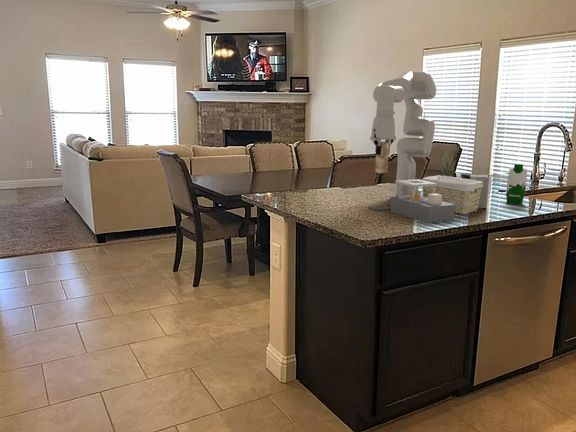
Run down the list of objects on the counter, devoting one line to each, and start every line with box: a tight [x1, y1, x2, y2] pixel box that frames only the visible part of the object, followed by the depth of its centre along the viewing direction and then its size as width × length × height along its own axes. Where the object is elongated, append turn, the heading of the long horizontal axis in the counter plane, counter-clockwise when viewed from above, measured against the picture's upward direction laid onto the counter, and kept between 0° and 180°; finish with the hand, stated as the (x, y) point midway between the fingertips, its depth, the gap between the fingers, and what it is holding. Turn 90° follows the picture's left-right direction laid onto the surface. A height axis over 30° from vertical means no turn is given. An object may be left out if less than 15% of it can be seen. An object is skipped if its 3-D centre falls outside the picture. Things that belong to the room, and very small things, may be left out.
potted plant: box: [439, 151, 457, 177], centre depth 298 cm, size 10×10×25 cm
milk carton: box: [505, 163, 528, 205], centre depth 258 cm, size 9×9×20 cm
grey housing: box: [389, 178, 456, 224], centre depth 224 cm, size 26×14×14 cm, turn 25°
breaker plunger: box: [409, 193, 422, 200], centre depth 229 cm, size 5×5×8 cm
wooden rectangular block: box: [374, 141, 390, 174], centre depth 233 cm, size 4×4×14 cm
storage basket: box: [421, 174, 483, 215], centre depth 239 cm, size 24×16×15 cm
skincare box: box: [470, 174, 489, 209], centre depth 245 cm, size 8×7×16 cm
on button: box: [428, 193, 442, 205], centre depth 217 cm, size 4×4×7 cm
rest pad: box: [368, 205, 391, 212], centre depth 238 cm, size 7×7×1 cm
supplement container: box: [460, 172, 480, 179], centre depth 278 cm, size 10×10×12 cm
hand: (382, 154), depth 233 cm, fingers closed on wooden rectangular block, 4 cm apart
